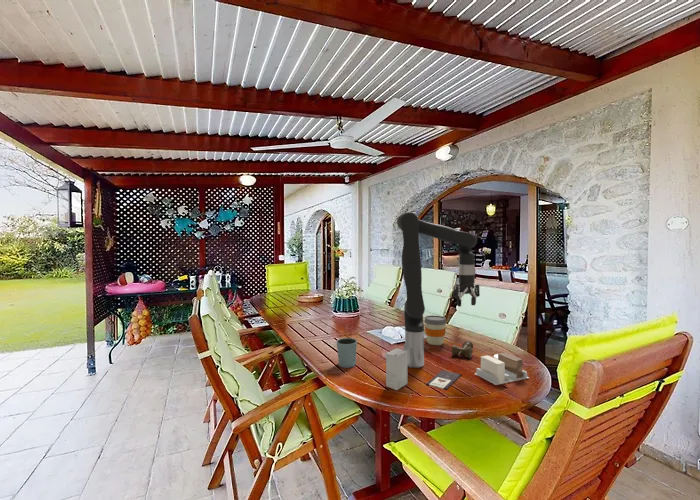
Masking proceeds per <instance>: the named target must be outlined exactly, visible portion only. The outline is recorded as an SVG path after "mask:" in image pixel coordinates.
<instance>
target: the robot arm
mask: <svg viewBox="0 0 700 500" xmlns="http://www.w3.org/2000/svg"><path fill="white" fill-rule="evenodd" d="M396 221H397V222H396V223H397V224H396V225H397V227H398V228H399V229H400V231H402V237H403V242H402V243H403V245H402V252H401V268H402V275H403V276H402V277H403V280H404V284H405V285H404V286H405V290H406V300H405V301H404V307H403V308H404V310H403V311H404V313H403V314H404V344H403V346H402V347H403V348H402V350H405V351H408V355H407V368H422V367H423V366H425V325H424V324H425V322H424V313H425V311H426V306H425V302H424V298H423V290H422V289H423V288H422V284H423V283H422V281H423V280H422V278H423V277H422V273H423V272H422V261H421V259H422V258H421V249H420V243H419V241H420V240H419V236H420V235H419V234H421V235H425V236H429V237H430V238H434V239H438V240H439V241H444V242H447V243H451V244H457V248H458V253H459V266H458V283H459V285H453V288H452V289H453V291H452V297H453V298H455V299H456V305H457V307H462V298H463V296H464V295H470V296H471V297H470V299H471V300H470V303H471V304H470V305H471V306H476V304H477V298H478V297H480V295H481V294H480V284H477V283H476V284H475V281H476V280H475V278H476V277H475V276H476V274H475V273H476V269H475V254H474V253H473V250H472V248H474V247H476V245H477V243H478V239H477V236H476V235H474V234H473V233H472V232H471V233H470V232H467V231H462V230H457V229H455V228H452V227H449V226H447V225H446V226H445V225H442V224H436V223H431V222H428V221H424V220H421V219H419V217H418V215H417V214H416V213H414V212H411V211H409V212H404V213H401V214H400V215H399V216H398V217H397V220H396Z"/></svg>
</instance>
